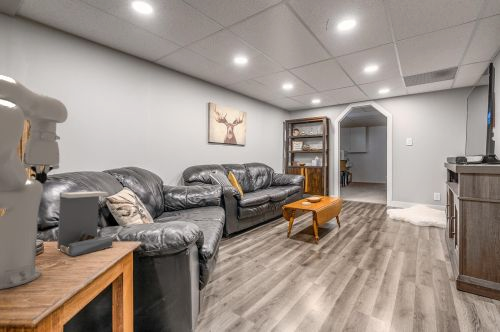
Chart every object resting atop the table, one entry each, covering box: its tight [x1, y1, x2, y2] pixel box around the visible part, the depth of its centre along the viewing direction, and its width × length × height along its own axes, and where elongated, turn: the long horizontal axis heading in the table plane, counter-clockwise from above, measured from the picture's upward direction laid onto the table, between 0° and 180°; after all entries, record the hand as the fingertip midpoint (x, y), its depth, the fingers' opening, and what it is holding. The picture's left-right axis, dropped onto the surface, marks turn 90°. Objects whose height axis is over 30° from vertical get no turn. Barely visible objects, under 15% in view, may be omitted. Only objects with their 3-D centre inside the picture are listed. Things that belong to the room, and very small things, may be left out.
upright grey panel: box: [57, 190, 109, 249], centre depth 102 cm, size 10×15×24 cm, turn 148°
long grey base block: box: [59, 235, 114, 257], centre depth 99 cm, size 12×15×4 cm
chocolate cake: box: [75, 231, 96, 243], centre depth 100 cm, size 10×7×12 cm
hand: (40, 183), depth 89 cm, fingers closed
